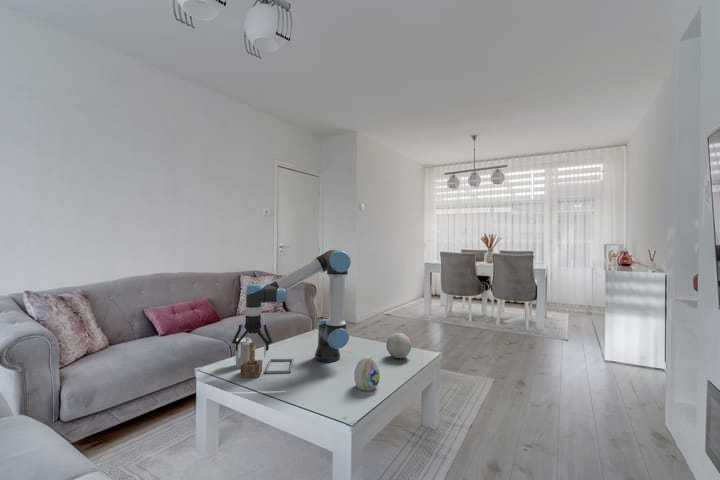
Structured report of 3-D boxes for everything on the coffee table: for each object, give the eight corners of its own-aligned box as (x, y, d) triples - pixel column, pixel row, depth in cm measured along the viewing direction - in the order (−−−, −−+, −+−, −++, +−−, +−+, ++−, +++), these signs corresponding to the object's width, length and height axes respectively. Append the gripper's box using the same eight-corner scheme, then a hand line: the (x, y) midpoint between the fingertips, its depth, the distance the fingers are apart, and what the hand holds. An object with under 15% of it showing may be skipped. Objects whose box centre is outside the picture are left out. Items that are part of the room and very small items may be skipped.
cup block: (262, 372, 180) (262, 359, 181) (259, 379, 172) (259, 366, 172) (244, 372, 179) (244, 360, 180) (240, 379, 171) (240, 366, 171)
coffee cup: (245, 371, 182) (246, 342, 182) (229, 369, 184) (230, 341, 184) (254, 365, 191) (255, 337, 191) (239, 363, 193) (240, 336, 193)
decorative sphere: (385, 361, 203) (386, 335, 203) (386, 353, 218) (387, 329, 218) (411, 362, 201) (411, 337, 201) (410, 354, 216) (411, 330, 216)
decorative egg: (368, 395, 156) (369, 362, 156) (348, 387, 164) (349, 356, 164) (384, 387, 166) (385, 356, 166) (365, 380, 174) (365, 350, 174)
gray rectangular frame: (293, 362, 197) (293, 358, 197) (290, 374, 178) (290, 370, 178) (270, 362, 196) (270, 358, 196) (264, 375, 177) (264, 371, 177)
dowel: (254, 373, 177) (255, 342, 177) (253, 375, 174) (254, 343, 174) (249, 373, 177) (250, 342, 177) (248, 375, 174) (249, 343, 174)
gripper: (278, 313, 181) (277, 354, 181) (230, 313, 178) (229, 354, 178) (276, 316, 174) (275, 359, 173) (226, 316, 171) (225, 359, 171)
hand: (252, 357), depth 176 cm, fingers open, 12 cm apart
